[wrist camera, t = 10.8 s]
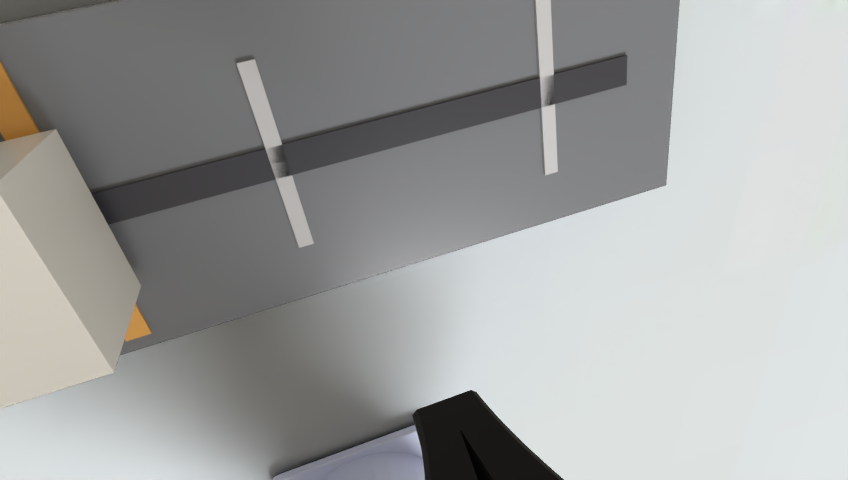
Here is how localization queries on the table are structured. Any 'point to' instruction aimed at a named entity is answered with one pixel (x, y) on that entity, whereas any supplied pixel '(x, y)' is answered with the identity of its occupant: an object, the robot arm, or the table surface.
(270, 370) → the table surface
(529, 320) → the table surface
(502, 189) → the console
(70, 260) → the fader tab
